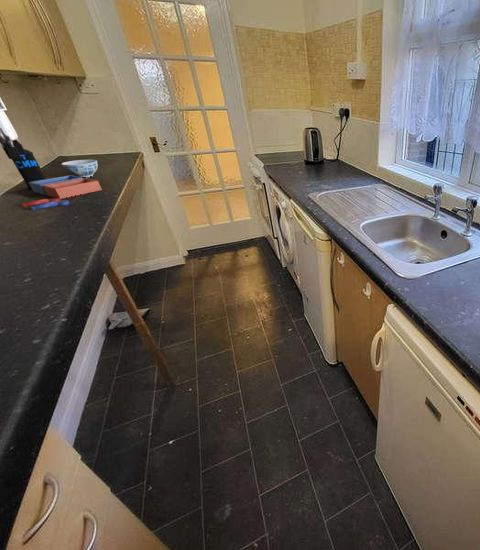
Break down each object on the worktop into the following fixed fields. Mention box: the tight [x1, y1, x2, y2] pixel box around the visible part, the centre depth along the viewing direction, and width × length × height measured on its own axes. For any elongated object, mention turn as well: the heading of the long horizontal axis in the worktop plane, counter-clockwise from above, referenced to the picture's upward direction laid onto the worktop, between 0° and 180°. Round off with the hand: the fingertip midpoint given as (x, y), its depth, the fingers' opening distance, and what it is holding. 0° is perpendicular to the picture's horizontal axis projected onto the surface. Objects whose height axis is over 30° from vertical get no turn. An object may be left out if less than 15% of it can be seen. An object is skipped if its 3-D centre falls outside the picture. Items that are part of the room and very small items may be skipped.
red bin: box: [43, 177, 103, 200], centre depth 139 cm, size 17×11×5 cm, turn 155°
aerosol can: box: [11, 148, 47, 190], centre depth 142 cm, size 8×8×20 cm
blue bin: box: [29, 174, 83, 196], centre depth 144 cm, size 17×11×5 cm, turn 155°
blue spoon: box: [29, 199, 70, 211], centre depth 122 cm, size 12×4×2 cm, turn 155°
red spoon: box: [21, 197, 62, 208], centre depth 125 cm, size 12×4×2 cm, turn 155°
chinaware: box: [61, 159, 99, 178], centre depth 165 cm, size 15×15×8 cm
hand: (18, 156), depth 113 cm, fingers open, 9 cm apart
